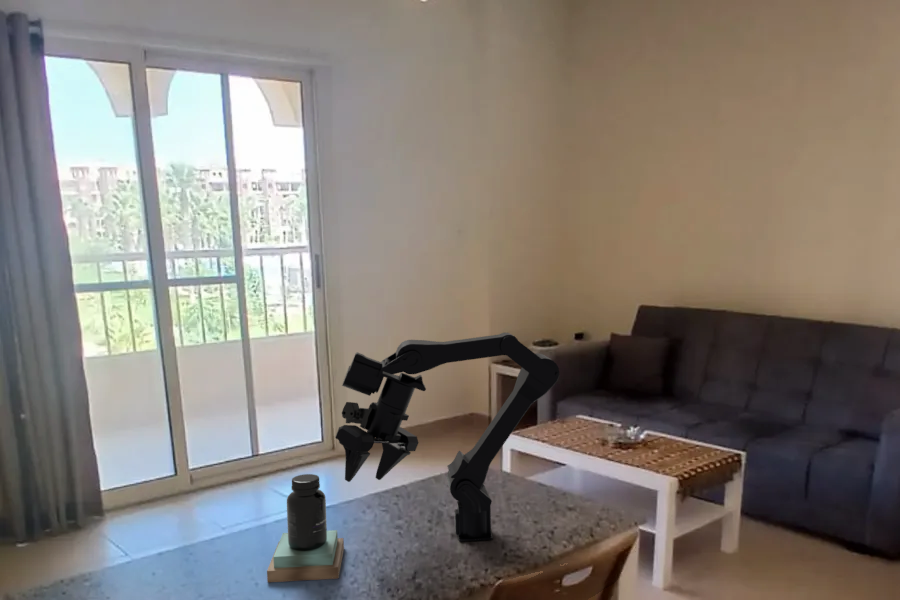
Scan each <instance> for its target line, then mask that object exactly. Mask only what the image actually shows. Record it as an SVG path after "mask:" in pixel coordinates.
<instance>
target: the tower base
mask: <svg viewBox="0 0 900 600" xmlns="http://www.w3.org/2000/svg"><path fill="white" fill-rule="evenodd" d="M344 541H345V540H344V537H338V529H336V530H334V529H333V530H327V541H326V543H325V544H324V545H323V546H321V547H320V548H317V549H314V550H307V551H300V550H295V549H292V548H291V547H290V546H289V544H288V532H282V534H281V537H280V539H279V541H278V542H277V545H276V548H275V550H274V552H273V554H272V558H271V559H270V562H269V565H268V567H267V570H266V578H267V579H266V581H267V582H266V583H280V582H281V583H282V582H283V583H284V582H295V581H296V582H299V581H314V580H315V581H317V580H333V579H334V580H335V579H336V580H337V579H339V578H340V572H341V567H342V561H343V555H344V550H345V543H344Z"/></svg>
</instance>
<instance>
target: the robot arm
mask: <svg viewBox="0 0 900 600" xmlns="http://www.w3.org/2000/svg"><path fill="white" fill-rule="evenodd" d="M501 356H507V357H508V358H510V360H512V361H513V362H514V363H516V365H518V366H519V367H520V370H519V372H518V374H517V378H516V381H515V384H514V387H513V390H512V391H511V393H510V394H509V396H508V397H507V399H506V400H505V401H504V403H503V405H502V406H501V407H500V409H499V410H498V412H497V413H496V414H495V416H494V417H493V419H492V420H491V421H490V423H489V424H488V426H487V427H486V429H485V430H484V432H483V433H482V435H481V436H480V437H479V439H478V440H477V442H476V443H475V445H474V446H473V447H472V448H471V449H470V450H469V451H467V452H466V453H465V454H464V453H463V452H462V450H458V451H457V453H456V455H455V457H454V459H453V461H451V462H450V464H448V465H447V469H448V471H447V473H446V481H447V486H448V489H449V492H450V495H451V496H452V498H453V499H454V500H456V508H455V509H454V513H453V515H454V533H455V535H456V536H457V538H458V541H459V542H474V541H475V542H476V541H489V540H490V541H492V540H494V539H493V538H494V536H493V533H492V510H491V509H492V508H491V506H492V502H493V501H492V499H491V496H490V495H489V492H488V490H487V487H486V485H485V481H486V478H487V475H488V472H489V468H490V465H491V463H492V461H493V460H494V459H495V457H496V456H497V454H499V452H500V450H501V449H502V447H503V446H504V444H505V443H506V442H507V440H508V439H509V438H510V436H511V434H512V433H513V432H514V430H515V428H516V427H517V426H518V424H519V423H520V421H521V420H522V418H523V417H524V416H525V414H526V413H527V411H528V410H529V409H530V408H531V406H532V405H533V404H534V403H535V402H536V401H538V400H539V399H541V398H542V397H543V396H545V395H546V394H547V393H548V392H549V390H551V389H552V388H553V387H554V386H555V384H556V383H558V381H559V378H560V374H561V373H560V368H559V366H558V364H557V363H556V362H555V361H554V360H552V358H550V357H548V356H546V355H545V354H543V353H538V352H537V353H535V352H533V350H531V349H529V348H528V347H527V346H526V345H525V344H523V343H522V342H520V341H519V340H518V338H517V337H516V336H515V335H513V334H512V333H510V332H504V331H503V332H502V333H499V334H493V335H492V334H491V335H486V336H478V337H471V338H463V339H453V340H449V341H435V340H424V339H423V340H422V339H407V340H404V341H402V342H401V343H399V345H398V347H396V351H395V352H394V353H392V354H390V355H389V356H387V357H385V358H384V359H383V360H381V361H379V360H377V359H373V358H372V357H371V358H370V357H368V356H366V355H365V354H364V353H361V352H355V353H354V356H353V358H352V361H351V363H350V365H348V368H347V371H346V373H345V376H344V379H343V381H342V383H341V384H342V385H341V386H342V387H344V388H348V389H350V390H352V391H355V392H358V393H360V394H363V395H366V396H371V395H372V394H375V393H376V394H378V392H379V390H380V389H381V387H382V383H383V380H384V378H386V379H385V381H384V384H383V387H382V389H381V392H380V395H379V397H378V400H377V402H371V403H370V405H369V406H368V408H366V407H360V405H359V403H358V402H351V401H346V403H345V404H344V406H343V408H342V411H341V417H342V418H343V419H345V423H346V424H343V425H341V426H339V427H338V429H337V432H336V434H335V436H334V439H336V440H337V441H338V443H339V444H340V445H341V446H342V447H343V449H344V452H345V455H344V456H345V465H344V466H345V468H344V480H345V481H347V482H348V483H350V482H351V481H352V480H353V479H354V478H355V476H356V475H357V474H358V472H359V471H360V470H361V468H362V466H363V465H364V463H365V462H366V461H367V459H368V458H369V457H370V455H371V452H369V451H370V450H371V449H372V448H373V447H374V444H381V446H382V453H381V456H380V459H379V463H378V466H377V469H376V474H375V479H376V480H378V481H381V480H382V479H383V478H384V477H385V476H386V475H387V474H389V472H391V470H392V469H393V468H395V467H396V466H397V465H398V464H400V462H401V461H402V460H403V459H405V458H406V457H407V456H410V455H411V452H416V450H417V448H418V445H419V440H418V435H415V434H413V433H412V432H410V431H408V430H407V429H404V428H402V426H401V425H402V423H403V421H405V422H406V421H408V419H409V416H410V415H409V414H407V413H406V412H407V410H408V408H409V404H410V402H411V399H412V396H413V395H414V392H415V389H416V390H419V391H422V392H425V391H426V390H427V388H426V385H425V383H424V381H423V377H422V375H421V374H420V373H423V372H427V371H430V370H433V369H435V368H437V367H440V366H442V365H445V364H449V363H455V362H456V363H457V362H462V361H463V362H464V361H470V360H472V361H473V360H478V359H485V358H492V357H501ZM397 374H399V375H397ZM417 374H418V375H417ZM412 375H416V376H415V377H414V376H412ZM351 423H352V425H351ZM348 424H349V425H348ZM353 424H355V425H353ZM356 424H359V426H357V425H356Z"/></svg>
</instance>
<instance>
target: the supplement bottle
mask: <svg viewBox="0 0 900 600" xmlns="http://www.w3.org/2000/svg"><path fill="white" fill-rule="evenodd" d="M320 487H321V483H320V477H319V475H317V474H313V473H312V474H311V473H306V474H305V473H304V474H298V475H296V476H294V477H292V478H291V491H292V492H290V493H289V495H288V496H287V498H286V517H287V519H286V520H287V521H286V523H287V533H288V544H289V546H290V547H291V548H292V549H295V550H300V551H307V550H314V549H317V548H320V547H321V546H323V545H324V544H325V543H326V541H327V531H328V529H327V504H326V503H327V499H326V494H325V493H324V491H322V490H321V489H320Z"/></svg>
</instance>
